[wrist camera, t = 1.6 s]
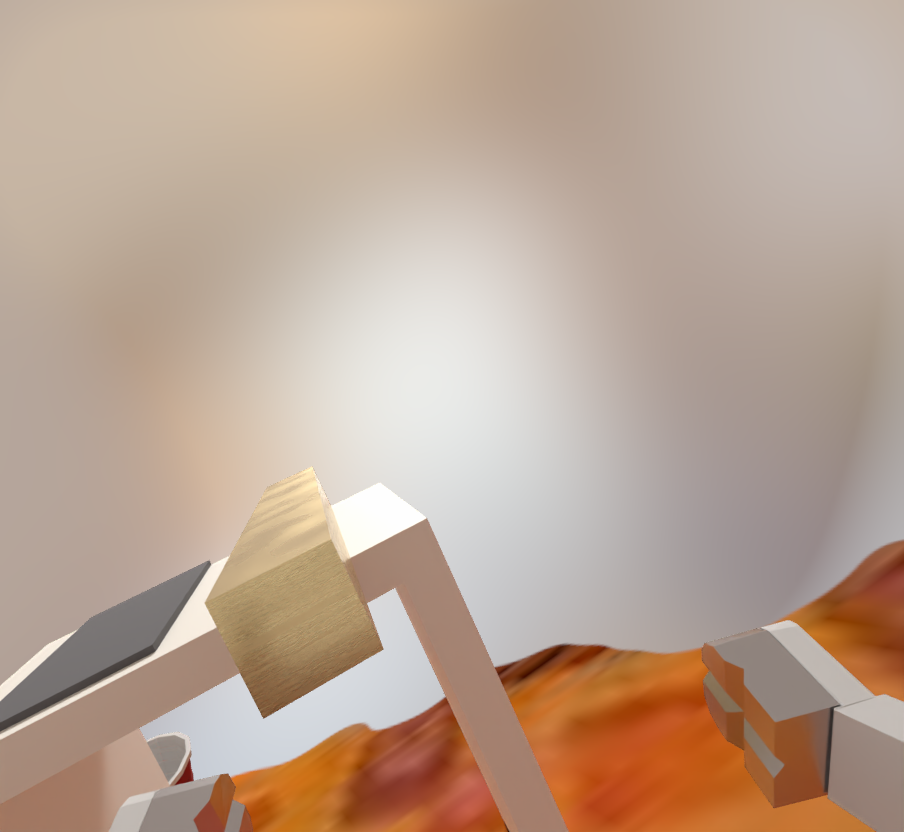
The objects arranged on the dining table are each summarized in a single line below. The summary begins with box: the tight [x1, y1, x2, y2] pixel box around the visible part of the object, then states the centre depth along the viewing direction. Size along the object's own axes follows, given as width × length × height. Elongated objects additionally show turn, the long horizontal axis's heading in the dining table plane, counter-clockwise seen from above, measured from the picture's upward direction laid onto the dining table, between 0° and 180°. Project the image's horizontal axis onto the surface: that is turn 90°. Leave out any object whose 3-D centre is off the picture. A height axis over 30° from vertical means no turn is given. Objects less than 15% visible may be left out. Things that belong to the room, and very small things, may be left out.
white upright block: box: [0, 483, 569, 832], centre depth 28 cm, size 21×14×26 cm, turn 107°
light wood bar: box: [205, 467, 383, 718], centre depth 23 cm, size 3×22×3 cm, turn 17°
